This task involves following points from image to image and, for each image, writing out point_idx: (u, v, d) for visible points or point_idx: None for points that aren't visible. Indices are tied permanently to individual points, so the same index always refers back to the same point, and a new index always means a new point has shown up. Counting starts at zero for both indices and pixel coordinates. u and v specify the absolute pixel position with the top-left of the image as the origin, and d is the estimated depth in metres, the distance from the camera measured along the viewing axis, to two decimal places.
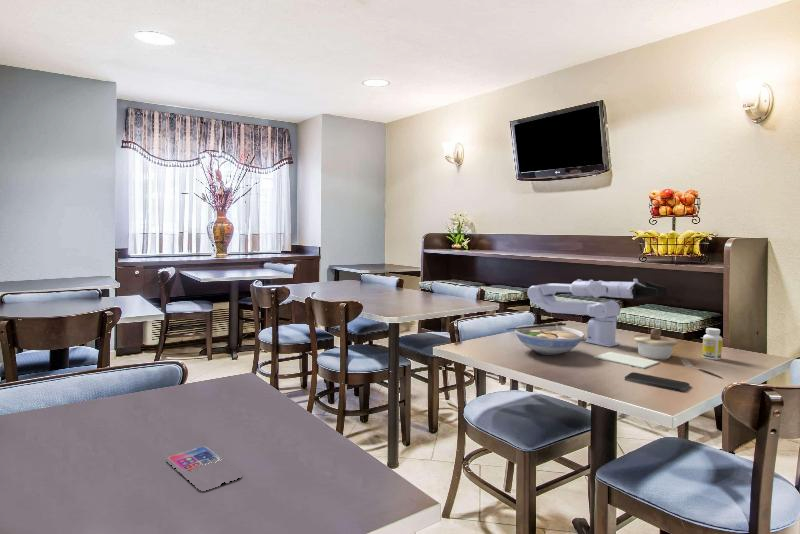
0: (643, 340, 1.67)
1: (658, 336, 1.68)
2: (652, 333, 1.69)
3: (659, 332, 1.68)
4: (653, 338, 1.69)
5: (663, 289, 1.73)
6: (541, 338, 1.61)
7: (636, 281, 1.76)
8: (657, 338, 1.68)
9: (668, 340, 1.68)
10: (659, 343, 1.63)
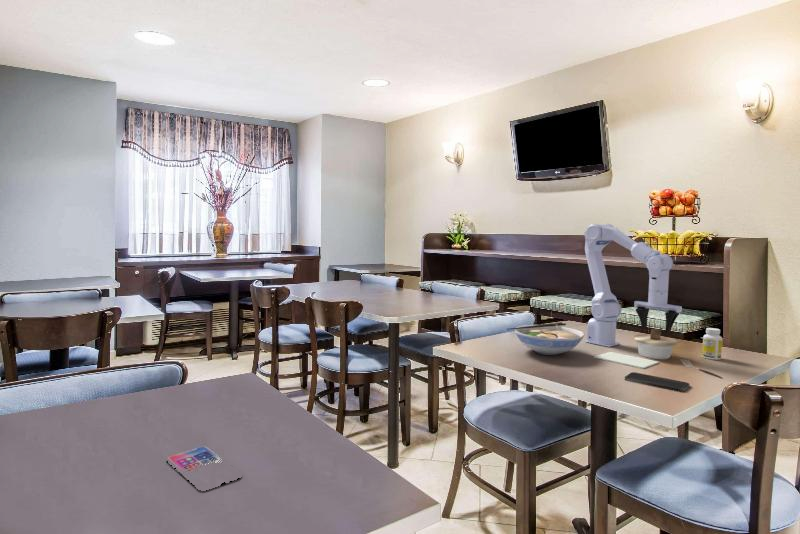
0: (643, 340, 1.67)
1: (658, 336, 1.68)
2: (652, 333, 1.69)
3: (659, 332, 1.68)
4: (653, 338, 1.69)
5: None
6: (541, 338, 1.61)
7: (652, 306, 1.67)
8: (657, 338, 1.68)
9: (668, 340, 1.68)
10: (659, 343, 1.63)
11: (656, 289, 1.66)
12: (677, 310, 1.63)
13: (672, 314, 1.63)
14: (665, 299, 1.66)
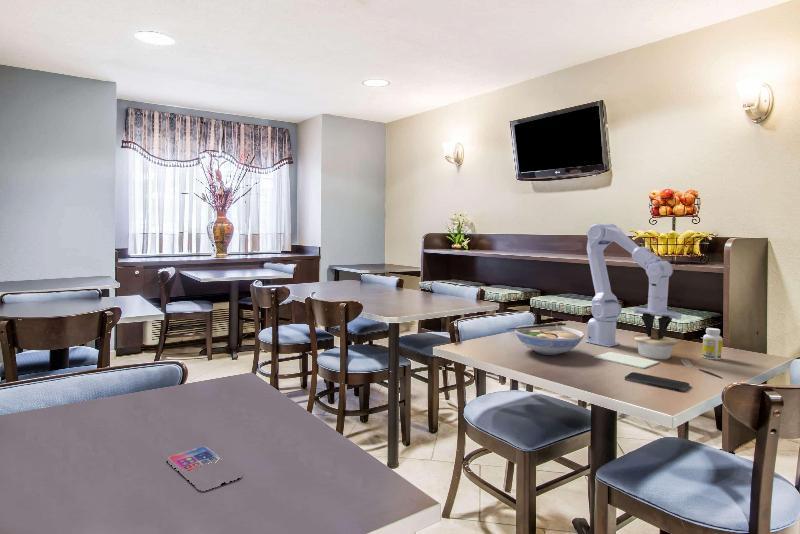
0: (643, 340, 1.67)
1: (658, 336, 1.68)
2: (652, 333, 1.69)
3: None
4: (653, 338, 1.69)
5: None
6: (541, 338, 1.61)
7: None
8: (657, 338, 1.68)
9: (668, 340, 1.68)
10: (659, 343, 1.64)
11: (656, 296, 1.66)
12: (676, 317, 1.63)
13: (665, 320, 1.65)
14: (665, 306, 1.66)
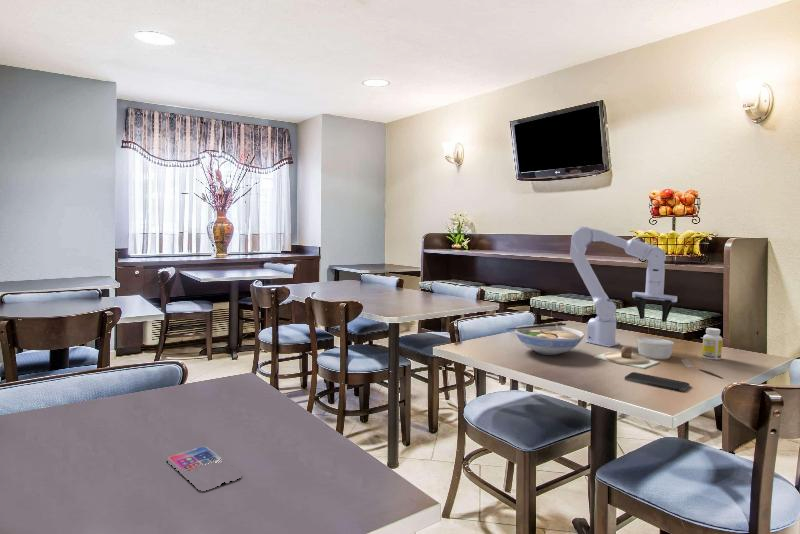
0: (612, 358, 1.61)
1: (629, 354, 1.62)
2: (623, 351, 1.63)
3: (630, 350, 1.62)
4: (624, 356, 1.62)
5: None
6: (541, 338, 1.61)
7: (649, 296, 1.76)
8: (628, 356, 1.62)
9: (639, 358, 1.62)
10: (628, 362, 1.57)
11: (658, 280, 1.75)
12: (673, 300, 1.73)
13: (668, 303, 1.72)
14: (661, 289, 1.75)
